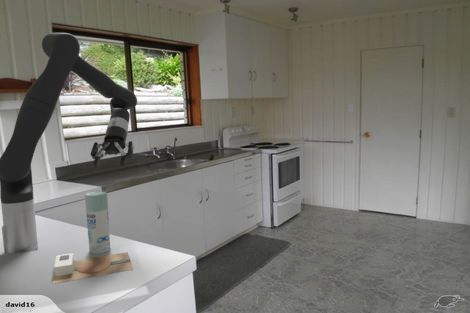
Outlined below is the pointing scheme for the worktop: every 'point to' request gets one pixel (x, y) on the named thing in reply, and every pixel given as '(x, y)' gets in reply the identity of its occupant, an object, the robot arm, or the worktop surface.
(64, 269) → the block
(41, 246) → the worktop surface
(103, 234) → the spray paint can
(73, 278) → the plywood panel
